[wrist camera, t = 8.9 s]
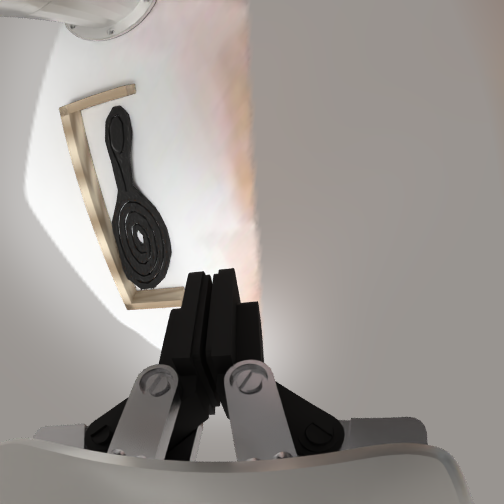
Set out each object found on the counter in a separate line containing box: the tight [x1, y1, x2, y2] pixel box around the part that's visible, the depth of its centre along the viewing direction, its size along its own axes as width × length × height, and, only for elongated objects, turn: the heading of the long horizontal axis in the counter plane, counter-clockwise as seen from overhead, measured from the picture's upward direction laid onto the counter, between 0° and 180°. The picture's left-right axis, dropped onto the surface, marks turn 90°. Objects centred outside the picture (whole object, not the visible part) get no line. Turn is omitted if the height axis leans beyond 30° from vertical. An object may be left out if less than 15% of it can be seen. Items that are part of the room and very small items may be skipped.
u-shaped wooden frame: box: [59, 84, 185, 310], centre depth 37 cm, size 30×9×3 cm, turn 6°
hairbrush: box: [105, 106, 172, 290], centre depth 37 cm, size 8×4×25 cm
